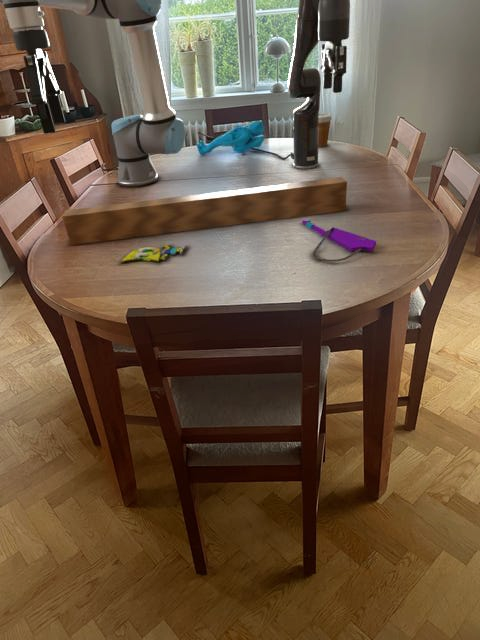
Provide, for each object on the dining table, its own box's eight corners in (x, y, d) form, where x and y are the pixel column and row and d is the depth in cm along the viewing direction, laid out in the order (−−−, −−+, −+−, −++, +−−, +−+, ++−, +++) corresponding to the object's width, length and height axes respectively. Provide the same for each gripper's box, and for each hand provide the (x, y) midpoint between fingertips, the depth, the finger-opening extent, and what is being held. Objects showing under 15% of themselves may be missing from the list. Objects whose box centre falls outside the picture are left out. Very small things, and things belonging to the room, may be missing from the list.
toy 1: (177, 259, 120) (120, 260, 122) (177, 262, 121) (121, 263, 123) (186, 242, 129) (132, 243, 131) (186, 245, 129) (133, 246, 131)
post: (70, 245, 136) (62, 216, 131) (73, 238, 140) (65, 210, 135) (345, 210, 142) (347, 181, 137) (340, 205, 146) (341, 176, 141)
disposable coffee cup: (306, 147, 207) (306, 118, 200) (312, 142, 214) (312, 113, 207) (328, 148, 203) (328, 117, 197) (333, 142, 211) (334, 113, 204)
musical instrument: (359, 272, 111) (387, 230, 123) (358, 264, 110) (387, 222, 122) (269, 260, 124) (303, 223, 136) (267, 253, 122) (302, 216, 134)
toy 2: (202, 134, 216) (265, 114, 206) (210, 157, 221) (271, 139, 211) (191, 144, 203) (258, 123, 192) (200, 168, 208) (265, 149, 197)
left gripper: (33, 29, 100) (61, 135, 111) (55, 27, 121) (77, 116, 132) (-4, 33, 99) (28, 139, 111) (24, 29, 120) (49, 119, 132)
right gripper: (358, 16, 111) (355, 92, 120) (339, 16, 123) (337, 85, 132) (327, 19, 111) (326, 95, 120) (311, 19, 123) (311, 88, 131)
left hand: (55, 127), depth 121 cm, fingers open, 13 cm apart
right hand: (332, 90), depth 126 cm, fingers open, 8 cm apart
